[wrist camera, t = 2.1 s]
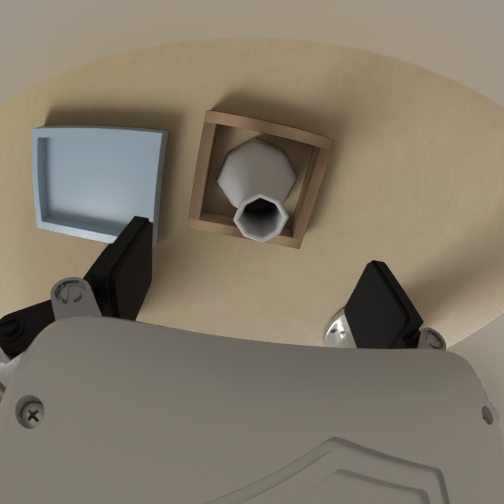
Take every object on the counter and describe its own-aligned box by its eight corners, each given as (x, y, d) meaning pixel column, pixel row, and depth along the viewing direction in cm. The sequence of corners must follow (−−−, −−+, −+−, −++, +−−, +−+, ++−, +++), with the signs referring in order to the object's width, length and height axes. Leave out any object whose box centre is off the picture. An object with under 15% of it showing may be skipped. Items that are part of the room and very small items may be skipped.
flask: (259, 225, 28) (264, 286, 19) (203, 181, 25) (179, 224, 17) (309, 175, 25) (342, 215, 16) (253, 124, 23) (256, 134, 14)
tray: (168, 130, 23) (162, 133, 21) (157, 241, 28) (151, 251, 27) (43, 125, 21) (32, 128, 19) (46, 220, 27) (37, 227, 25)
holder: (327, 137, 23) (334, 140, 21) (296, 238, 28) (299, 249, 27) (210, 110, 22) (206, 110, 20) (191, 218, 27) (187, 227, 25)
